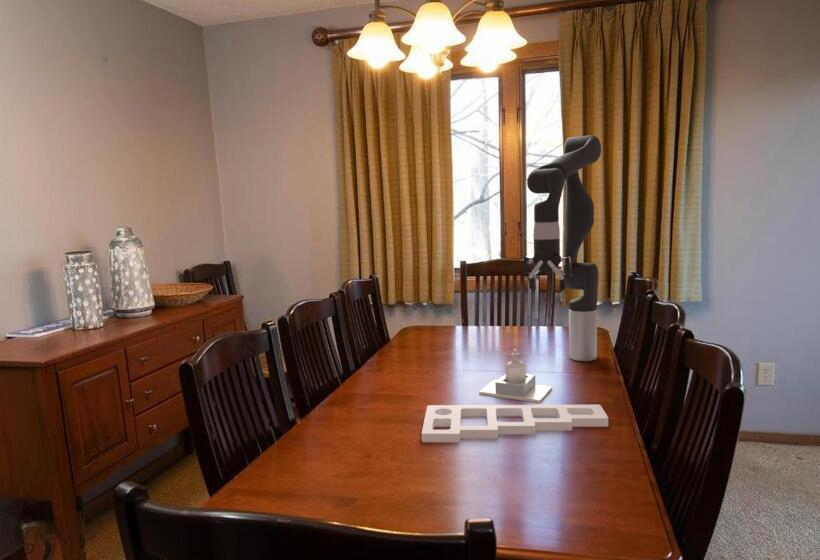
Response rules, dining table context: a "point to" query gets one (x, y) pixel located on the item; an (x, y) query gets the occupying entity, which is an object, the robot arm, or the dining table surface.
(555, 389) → the dining table surface
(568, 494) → the dining table surface
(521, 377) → the eye dropper bottle
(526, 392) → the holder stand
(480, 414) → the holder
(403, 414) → the dining table surface
